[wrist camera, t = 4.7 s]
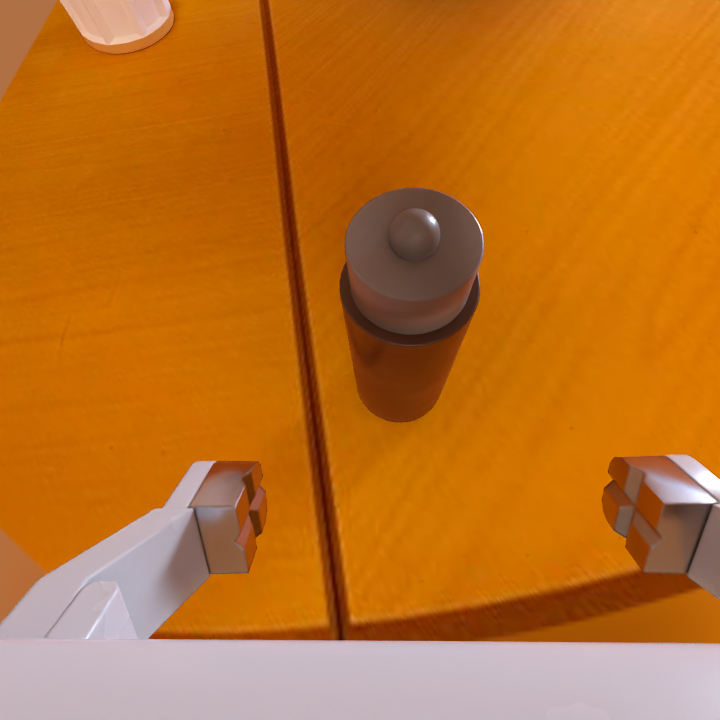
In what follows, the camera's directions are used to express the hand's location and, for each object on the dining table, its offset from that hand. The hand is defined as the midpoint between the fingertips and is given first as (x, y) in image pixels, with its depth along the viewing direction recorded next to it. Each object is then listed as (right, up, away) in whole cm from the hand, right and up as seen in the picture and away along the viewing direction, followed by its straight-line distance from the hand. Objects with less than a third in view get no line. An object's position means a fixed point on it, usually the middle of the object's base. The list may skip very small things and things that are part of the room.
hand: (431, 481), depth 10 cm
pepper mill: (+1, +2, +16) cm, 16 cm away
